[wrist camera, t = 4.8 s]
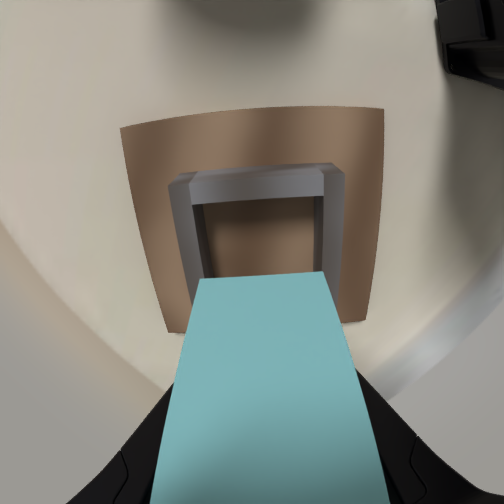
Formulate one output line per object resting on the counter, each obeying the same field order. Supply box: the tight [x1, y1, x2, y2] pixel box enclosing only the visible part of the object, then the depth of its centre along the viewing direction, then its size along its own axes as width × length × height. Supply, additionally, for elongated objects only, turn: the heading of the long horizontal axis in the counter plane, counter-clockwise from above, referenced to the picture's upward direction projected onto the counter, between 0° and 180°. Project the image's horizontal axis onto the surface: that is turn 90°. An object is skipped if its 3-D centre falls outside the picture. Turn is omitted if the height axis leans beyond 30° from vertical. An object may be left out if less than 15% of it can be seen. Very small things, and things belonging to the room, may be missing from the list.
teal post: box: [150, 271, 390, 504], centre depth 7 cm, size 4×4×8 cm
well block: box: [120, 106, 384, 333], centre depth 17 cm, size 14×14×4 cm
